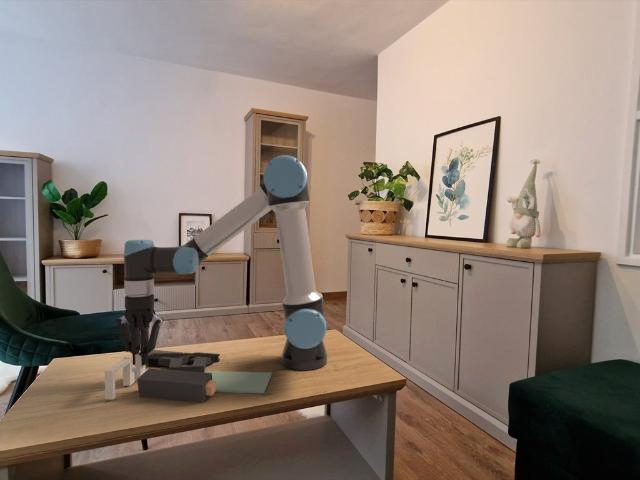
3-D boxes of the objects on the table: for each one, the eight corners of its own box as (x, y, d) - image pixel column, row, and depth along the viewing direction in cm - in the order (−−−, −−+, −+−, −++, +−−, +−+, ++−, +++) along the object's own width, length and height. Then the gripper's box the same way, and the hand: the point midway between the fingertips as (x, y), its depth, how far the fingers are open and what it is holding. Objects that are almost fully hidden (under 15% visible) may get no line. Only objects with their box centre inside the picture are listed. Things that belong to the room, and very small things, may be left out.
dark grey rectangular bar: (218, 391, 96) (217, 373, 95) (210, 403, 91) (208, 385, 90) (151, 385, 99) (149, 368, 98) (139, 397, 94) (137, 379, 93)
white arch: (142, 376, 106) (141, 351, 106) (112, 399, 92) (112, 371, 92) (135, 375, 106) (135, 351, 106) (105, 399, 92) (104, 370, 92)
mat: (271, 374, 109) (271, 372, 109) (264, 393, 97) (264, 391, 97) (186, 372, 110) (186, 370, 110) (168, 390, 98) (168, 388, 98)
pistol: (197, 370, 104) (222, 353, 119) (120, 362, 109) (152, 348, 124) (197, 377, 104) (221, 360, 119) (120, 370, 109) (152, 354, 124)
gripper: (168, 292, 106) (168, 370, 107) (124, 291, 107) (125, 369, 108) (155, 297, 99) (156, 382, 100) (109, 296, 99) (110, 380, 100)
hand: (140, 375), depth 104 cm, fingers closed
